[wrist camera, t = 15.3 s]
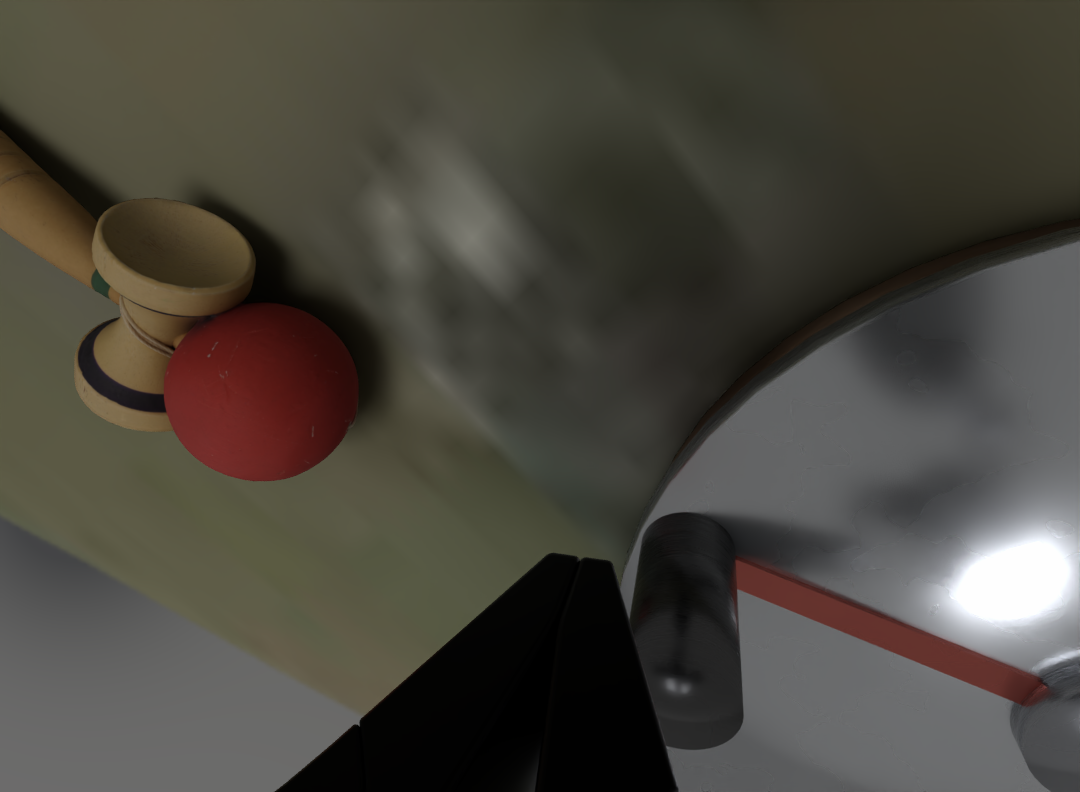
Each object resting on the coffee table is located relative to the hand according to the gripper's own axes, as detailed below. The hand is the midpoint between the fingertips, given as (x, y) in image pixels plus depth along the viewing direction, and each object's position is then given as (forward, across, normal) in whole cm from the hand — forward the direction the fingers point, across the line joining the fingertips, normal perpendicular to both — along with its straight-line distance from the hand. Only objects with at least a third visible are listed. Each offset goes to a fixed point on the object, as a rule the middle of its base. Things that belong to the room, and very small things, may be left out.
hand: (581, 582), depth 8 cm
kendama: (+13, +18, 0) cm, 22 cm away
